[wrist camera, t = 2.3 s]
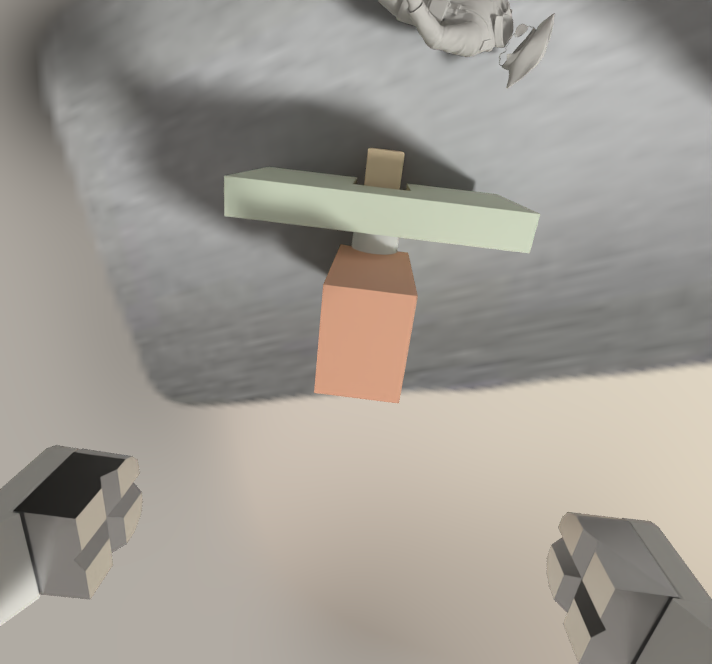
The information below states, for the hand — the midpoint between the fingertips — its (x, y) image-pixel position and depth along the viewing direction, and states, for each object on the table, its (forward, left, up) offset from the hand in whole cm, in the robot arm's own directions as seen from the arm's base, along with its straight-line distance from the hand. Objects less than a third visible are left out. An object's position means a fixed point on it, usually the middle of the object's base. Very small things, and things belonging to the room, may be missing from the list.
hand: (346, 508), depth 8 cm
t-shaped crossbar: (-1, 0, -18) cm, 18 cm away
